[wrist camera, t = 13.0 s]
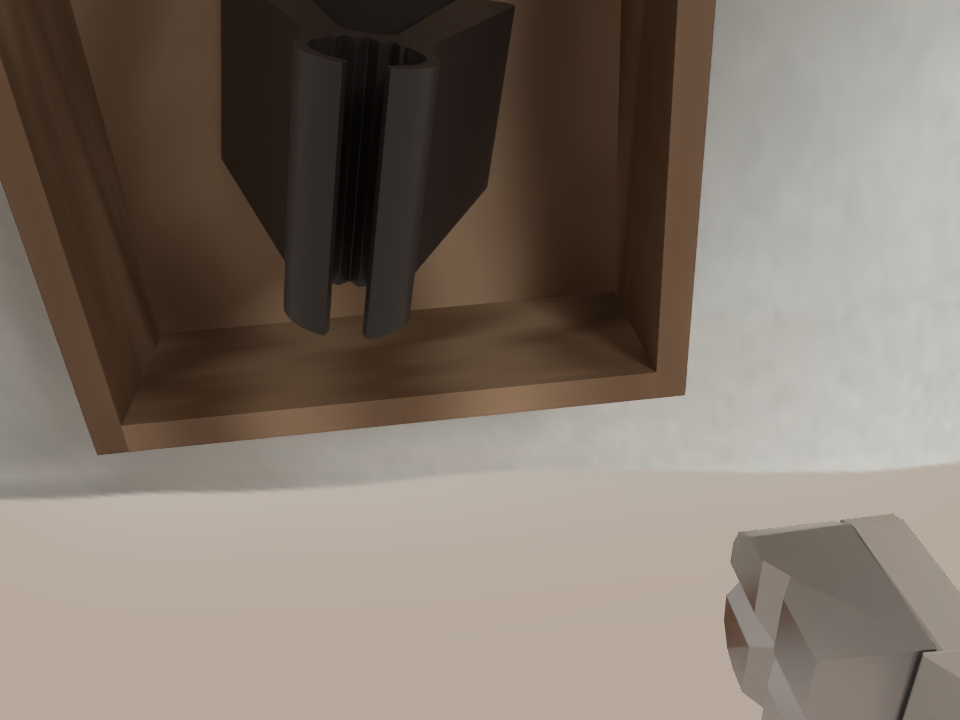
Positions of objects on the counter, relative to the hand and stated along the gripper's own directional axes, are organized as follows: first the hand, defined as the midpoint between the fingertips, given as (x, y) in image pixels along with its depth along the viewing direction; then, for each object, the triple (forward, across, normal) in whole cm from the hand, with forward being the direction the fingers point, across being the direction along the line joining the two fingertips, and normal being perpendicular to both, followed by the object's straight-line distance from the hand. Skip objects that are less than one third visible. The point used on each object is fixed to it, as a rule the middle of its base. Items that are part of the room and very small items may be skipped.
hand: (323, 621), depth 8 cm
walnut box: (+24, 0, 0) cm, 24 cm away
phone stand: (+23, 0, 0) cm, 23 cm away
